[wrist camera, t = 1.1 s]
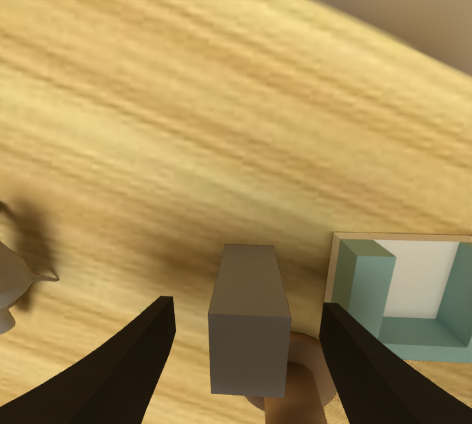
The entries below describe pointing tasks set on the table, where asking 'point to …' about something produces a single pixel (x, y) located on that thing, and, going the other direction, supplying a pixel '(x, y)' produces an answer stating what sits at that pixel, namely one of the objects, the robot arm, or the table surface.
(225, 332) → the plug
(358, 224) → the table surface
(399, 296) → the notch board
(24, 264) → the grey animal figure
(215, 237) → the table surface
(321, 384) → the bobbin
